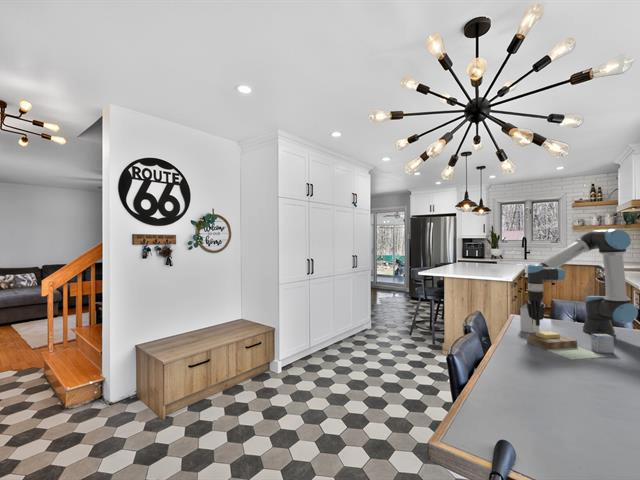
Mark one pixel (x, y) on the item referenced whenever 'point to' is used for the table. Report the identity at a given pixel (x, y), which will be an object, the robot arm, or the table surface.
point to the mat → (576, 353)
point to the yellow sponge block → (548, 334)
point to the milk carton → (526, 320)
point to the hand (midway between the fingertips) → (536, 330)
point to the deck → (552, 342)
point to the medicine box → (602, 343)
